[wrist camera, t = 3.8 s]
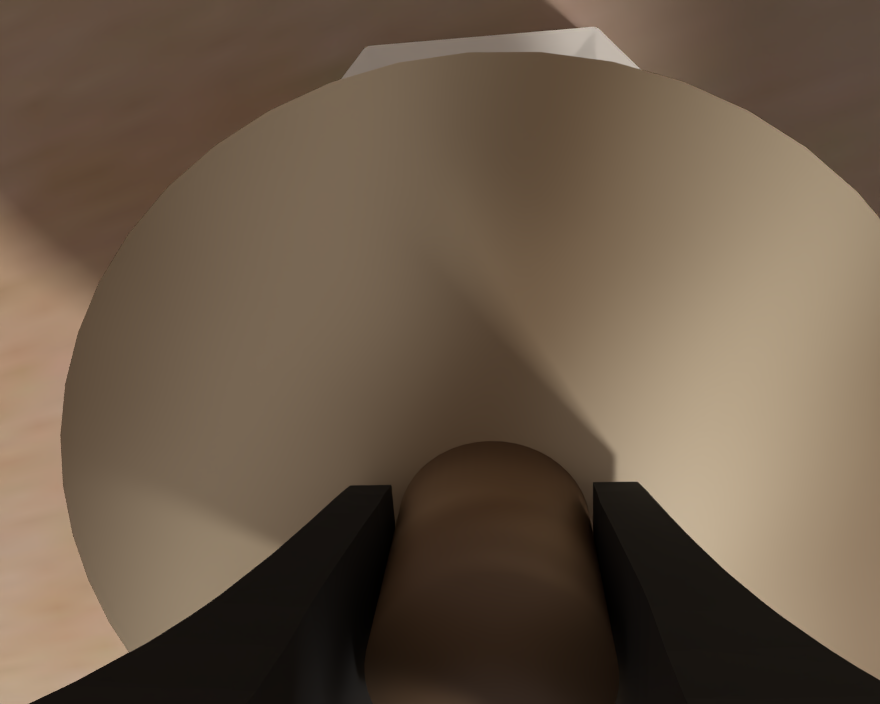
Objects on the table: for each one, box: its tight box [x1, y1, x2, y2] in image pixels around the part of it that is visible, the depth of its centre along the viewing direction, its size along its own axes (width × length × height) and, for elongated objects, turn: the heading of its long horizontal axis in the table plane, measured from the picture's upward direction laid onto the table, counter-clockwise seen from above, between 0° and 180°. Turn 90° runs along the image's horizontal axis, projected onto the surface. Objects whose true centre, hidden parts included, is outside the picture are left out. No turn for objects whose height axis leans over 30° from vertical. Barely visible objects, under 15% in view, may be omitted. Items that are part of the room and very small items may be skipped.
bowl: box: [341, 27, 640, 79], centre depth 19 cm, size 11×11×3 cm
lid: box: [61, 52, 880, 704], centre depth 10 cm, size 13×13×4 cm
